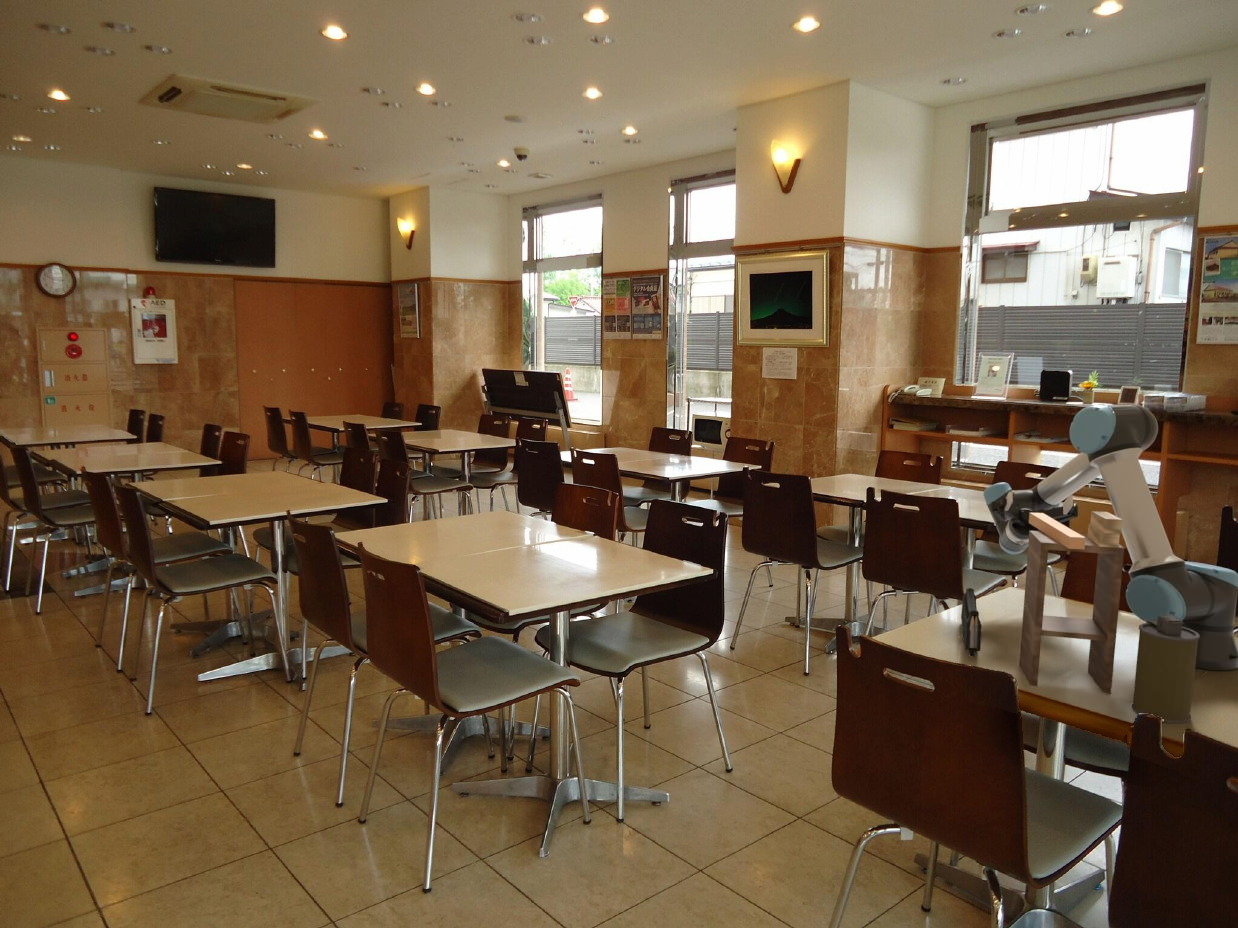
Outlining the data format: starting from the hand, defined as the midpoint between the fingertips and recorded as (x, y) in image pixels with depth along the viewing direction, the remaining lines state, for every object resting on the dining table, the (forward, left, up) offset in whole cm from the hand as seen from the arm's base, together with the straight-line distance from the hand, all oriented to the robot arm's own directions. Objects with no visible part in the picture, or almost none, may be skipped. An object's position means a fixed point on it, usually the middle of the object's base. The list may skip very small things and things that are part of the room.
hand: (1040, 498), depth 217 cm
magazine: (+14, +2, -37) cm, 40 cm away
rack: (-3, +24, -37) cm, 44 cm away
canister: (-18, +39, -37) cm, 57 cm away
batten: (+1, +22, -5) cm, 22 cm away
